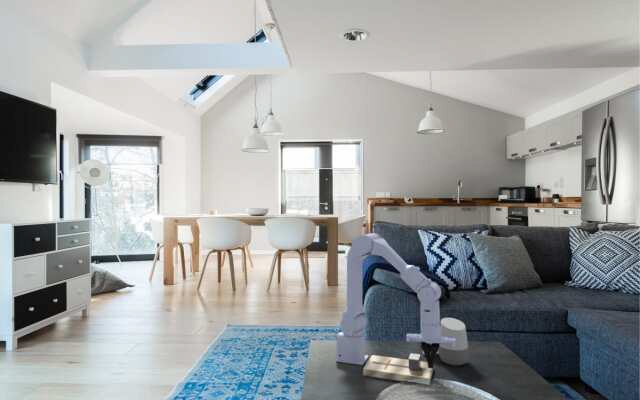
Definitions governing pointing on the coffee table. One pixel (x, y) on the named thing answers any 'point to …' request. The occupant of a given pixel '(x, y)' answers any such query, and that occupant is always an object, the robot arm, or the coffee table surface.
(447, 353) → the smart speaker
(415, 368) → the fader tab
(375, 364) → the console
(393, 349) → the coffee table surface
